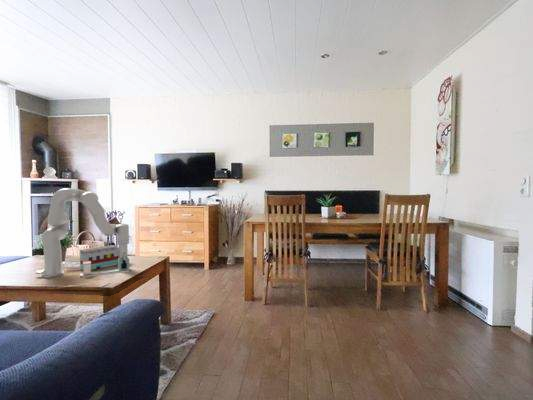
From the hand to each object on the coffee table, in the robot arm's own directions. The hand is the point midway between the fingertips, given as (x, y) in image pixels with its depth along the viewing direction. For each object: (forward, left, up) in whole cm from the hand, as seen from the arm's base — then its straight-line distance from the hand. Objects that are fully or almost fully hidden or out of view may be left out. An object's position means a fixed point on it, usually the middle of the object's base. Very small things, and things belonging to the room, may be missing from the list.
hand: (123, 267), depth 212 cm
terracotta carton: (-22, 0, -2) cm, 22 cm away
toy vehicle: (-10, +20, -3) cm, 23 cm away
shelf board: (-11, 0, -3) cm, 11 cm away
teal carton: (0, 0, -2) cm, 2 cm away
